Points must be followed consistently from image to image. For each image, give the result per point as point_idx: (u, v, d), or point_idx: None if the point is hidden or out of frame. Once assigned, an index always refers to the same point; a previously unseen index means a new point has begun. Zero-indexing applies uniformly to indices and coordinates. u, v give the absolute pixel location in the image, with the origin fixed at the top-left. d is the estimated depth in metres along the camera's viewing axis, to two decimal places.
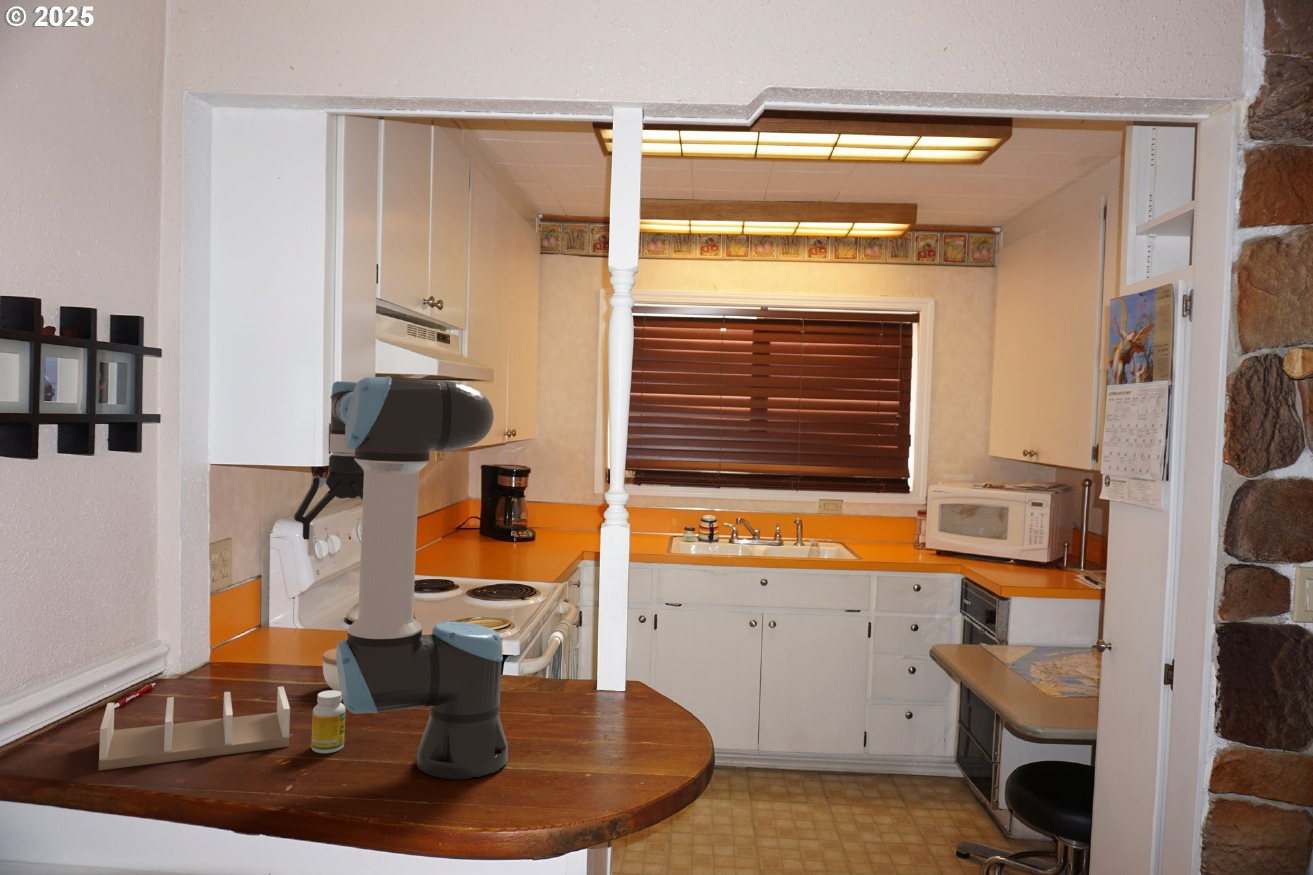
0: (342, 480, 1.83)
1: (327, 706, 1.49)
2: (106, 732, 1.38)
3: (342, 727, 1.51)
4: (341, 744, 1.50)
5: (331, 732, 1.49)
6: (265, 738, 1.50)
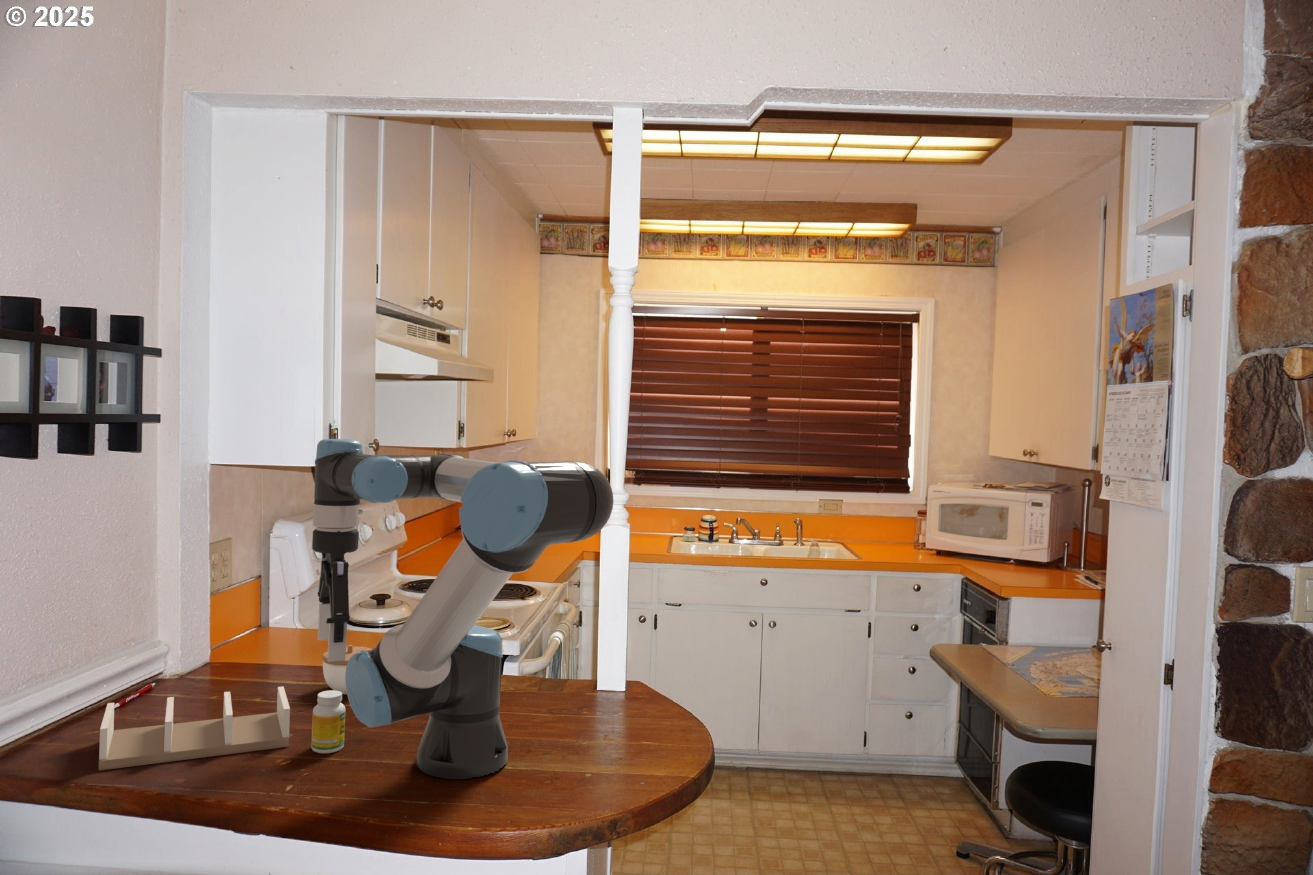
0: (327, 558, 1.51)
1: (327, 706, 1.49)
2: (106, 732, 1.38)
3: (342, 727, 1.51)
4: (341, 744, 1.50)
5: (331, 732, 1.49)
6: (265, 738, 1.50)
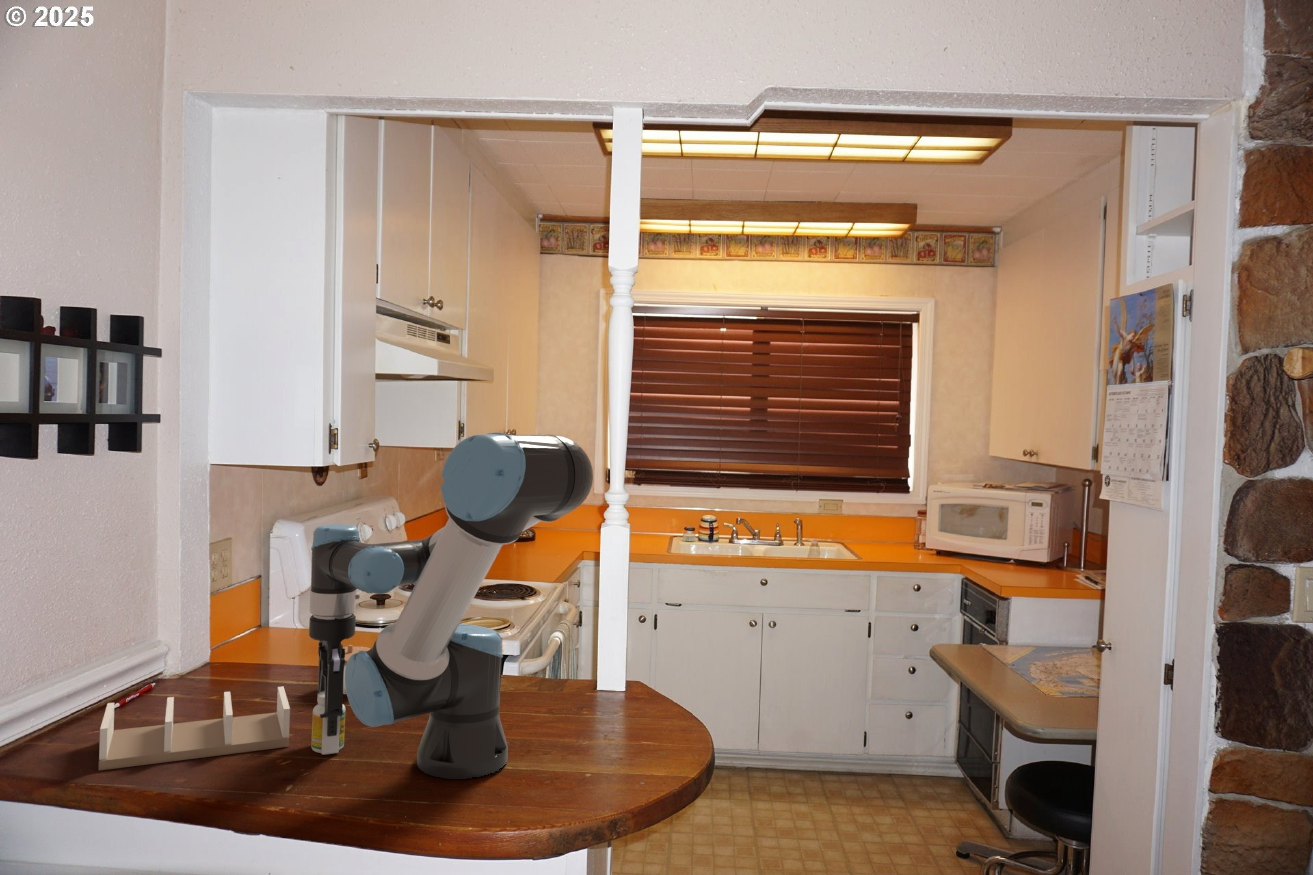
0: None
1: None
2: (106, 732, 1.38)
3: (342, 726, 1.51)
4: (341, 744, 1.50)
5: None
6: (265, 738, 1.50)
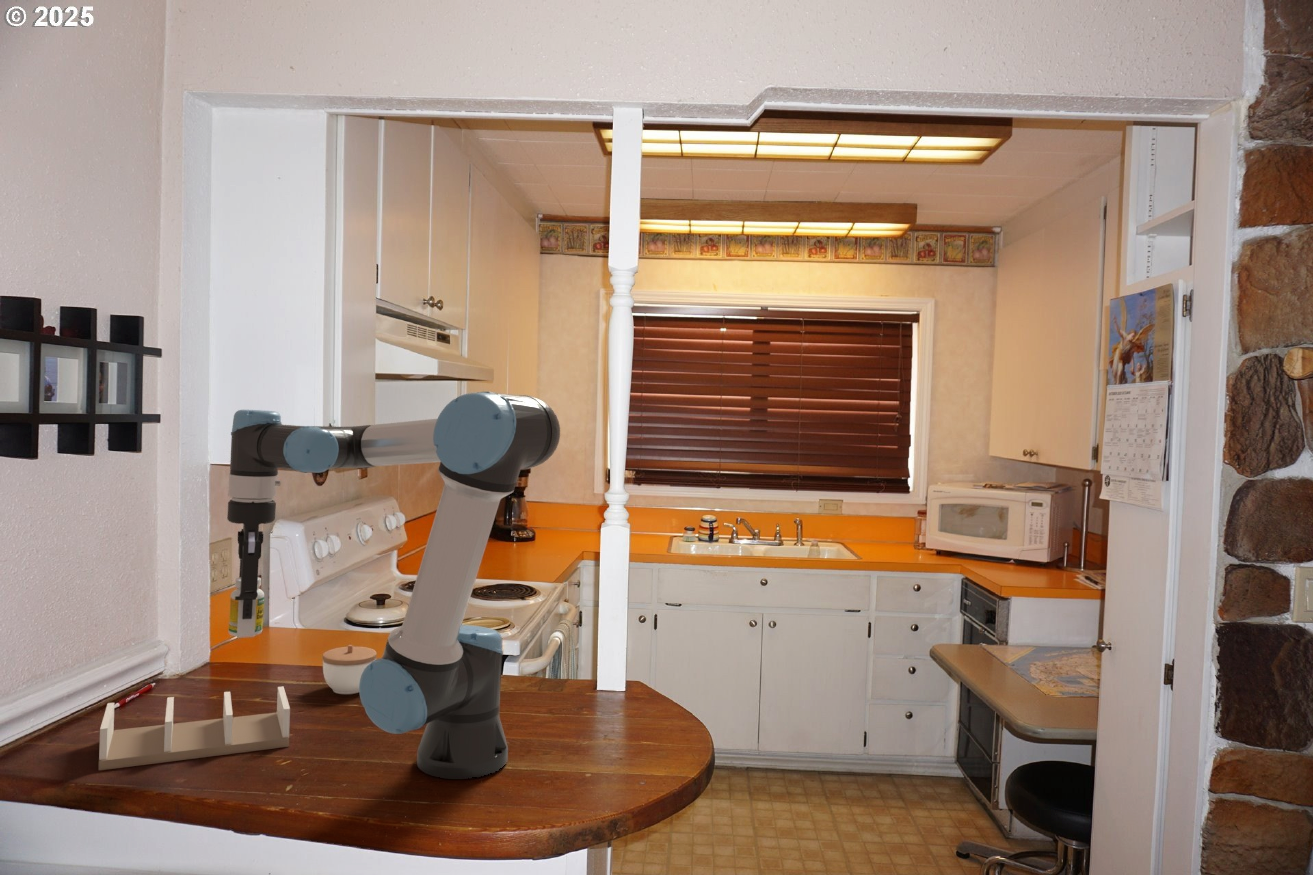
0: None
1: None
2: (106, 732, 1.38)
3: (260, 612, 1.50)
4: (258, 629, 1.50)
5: None
6: (265, 738, 1.50)
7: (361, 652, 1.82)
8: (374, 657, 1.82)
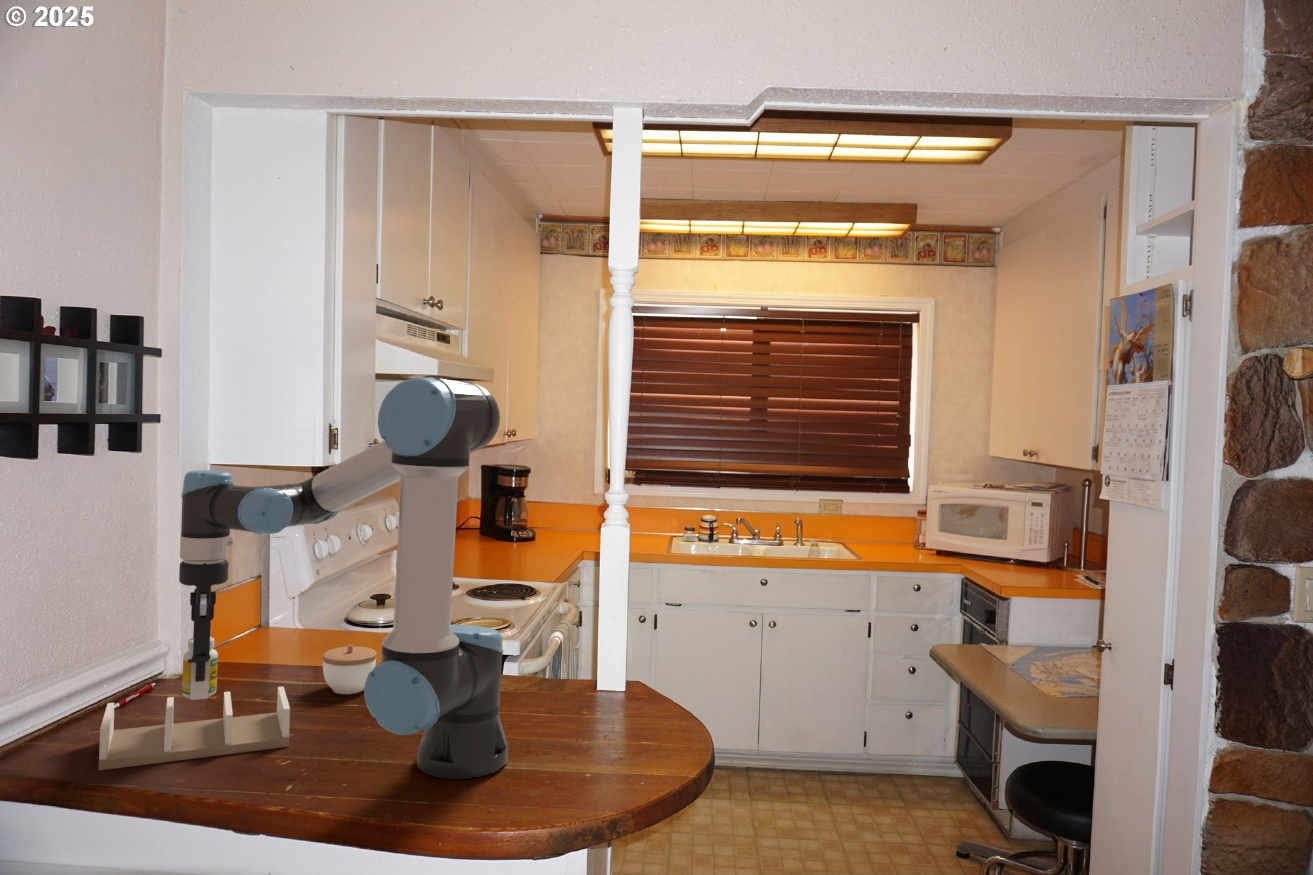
0: None
1: None
2: (106, 732, 1.38)
3: (214, 673, 1.50)
4: (212, 690, 1.50)
5: None
6: (265, 738, 1.50)
7: (361, 652, 1.82)
8: (374, 657, 1.82)
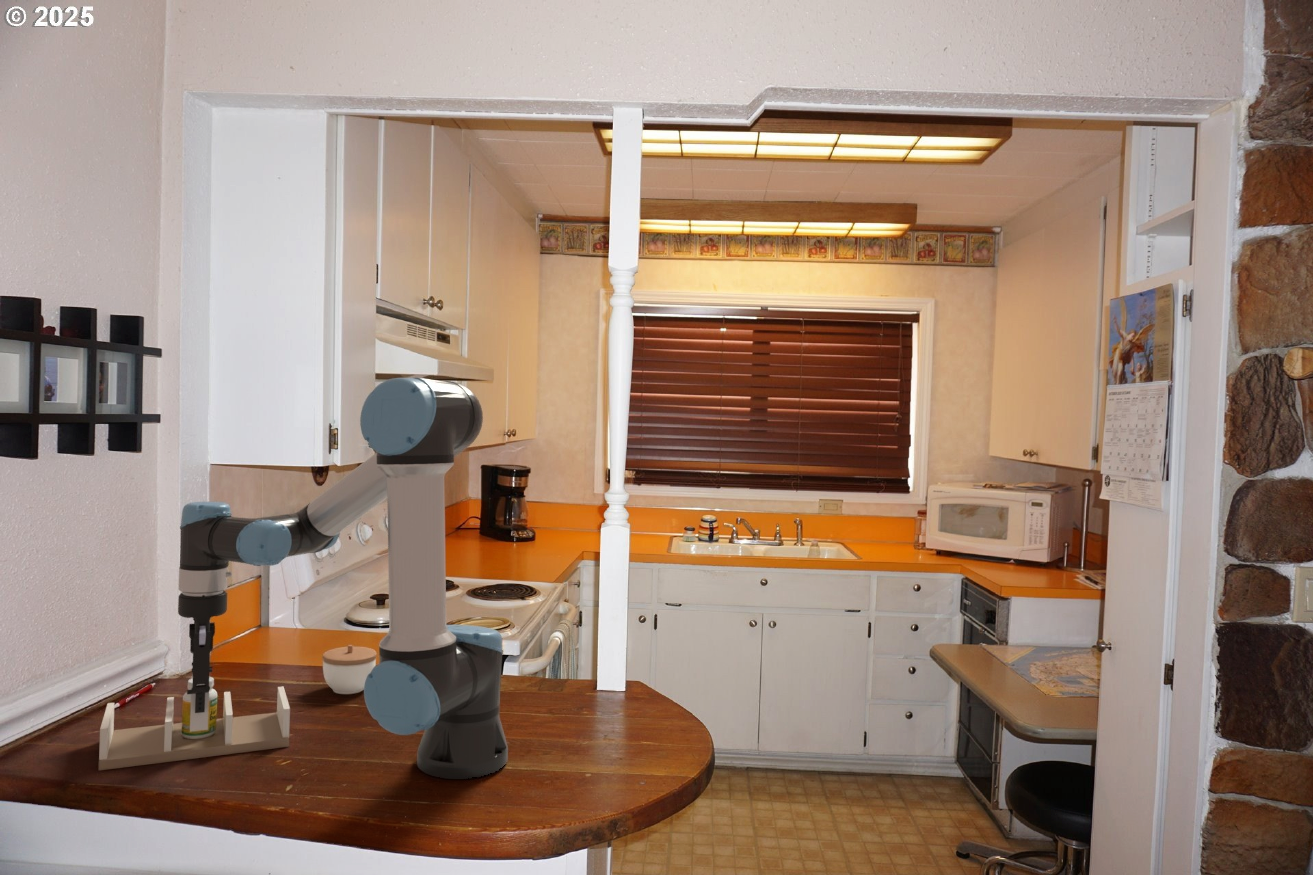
0: None
1: None
2: (106, 732, 1.38)
3: (213, 713, 1.50)
4: (212, 730, 1.50)
5: None
6: (265, 738, 1.50)
7: (361, 652, 1.82)
8: (374, 657, 1.82)
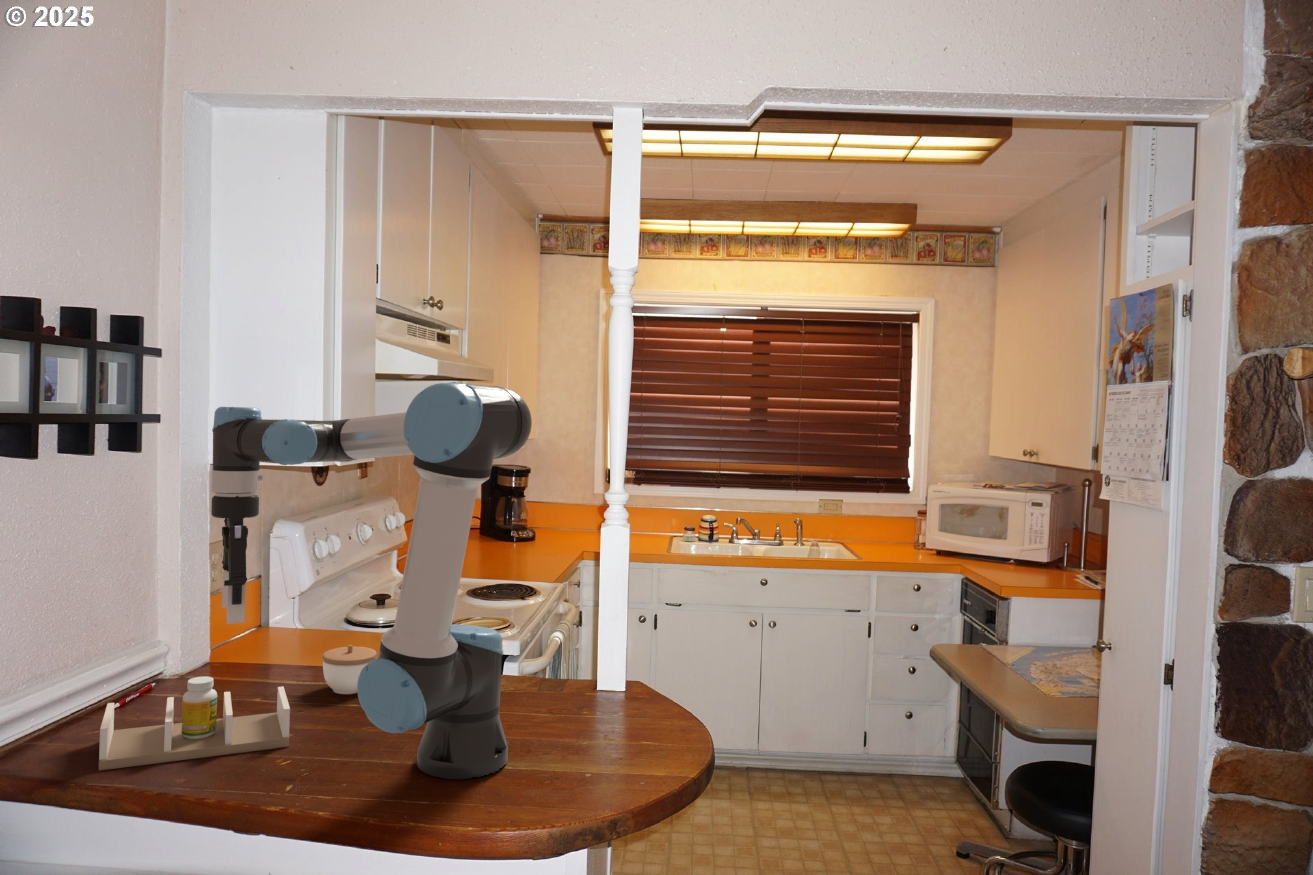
0: (227, 524, 1.53)
1: (196, 692, 1.48)
2: (106, 732, 1.38)
3: (213, 713, 1.50)
4: (212, 730, 1.50)
5: (201, 718, 1.48)
6: (265, 738, 1.50)
7: (361, 652, 1.82)
8: (374, 657, 1.82)
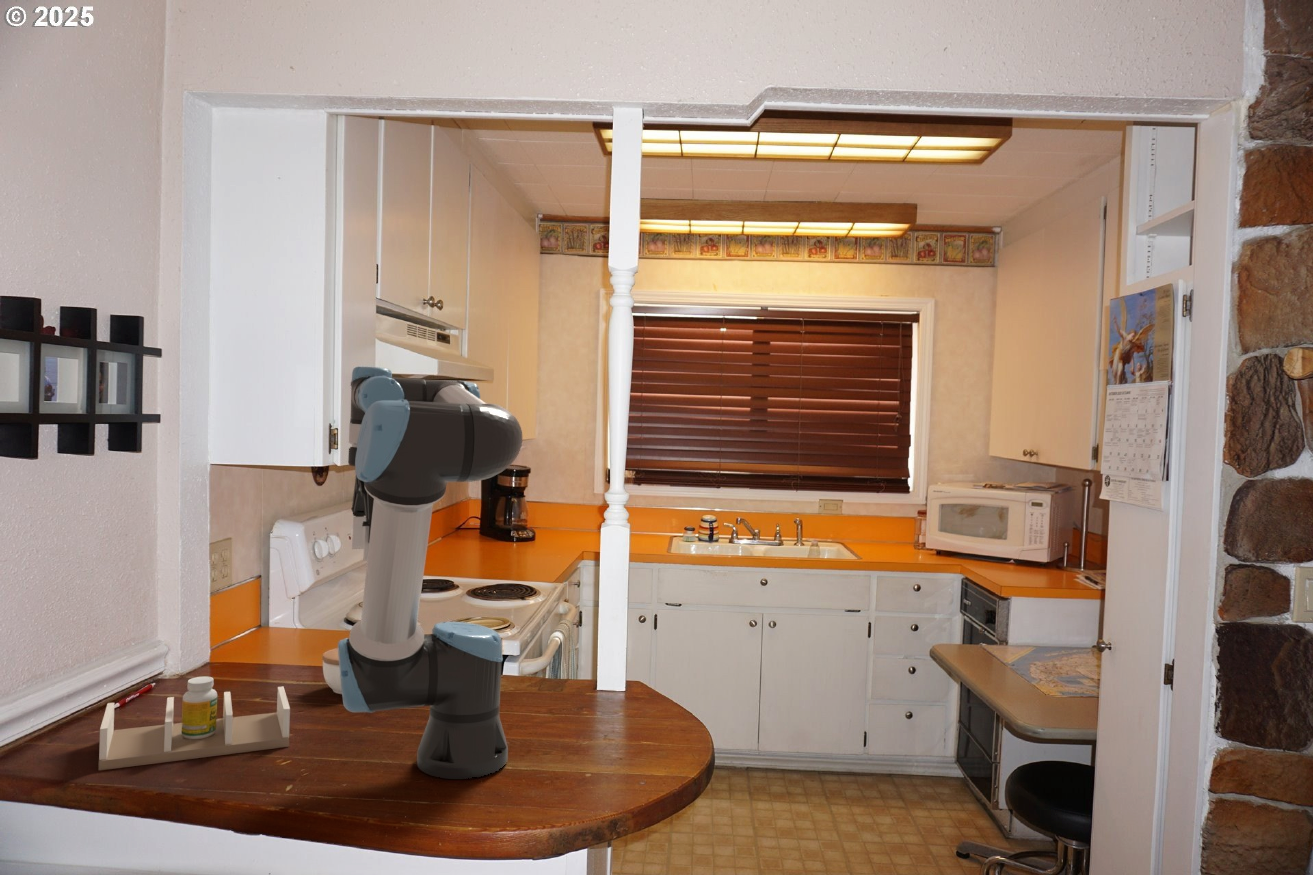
0: None
1: (196, 692, 1.48)
2: (106, 732, 1.38)
3: (213, 713, 1.50)
4: (212, 730, 1.50)
5: (201, 718, 1.48)
6: (265, 738, 1.50)
7: None
8: None
